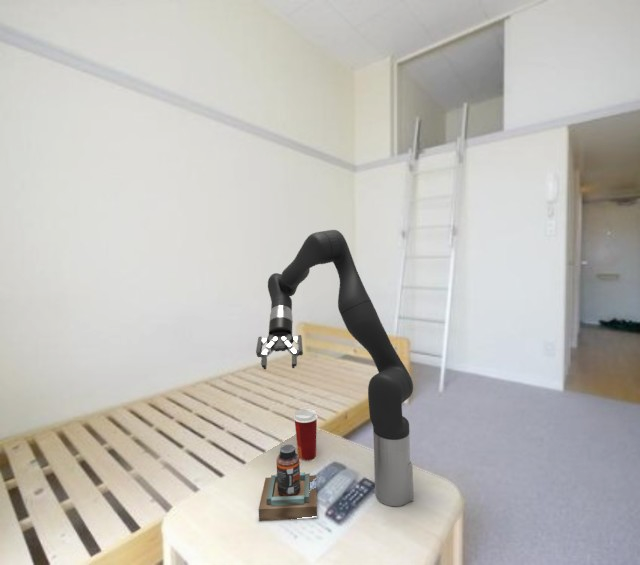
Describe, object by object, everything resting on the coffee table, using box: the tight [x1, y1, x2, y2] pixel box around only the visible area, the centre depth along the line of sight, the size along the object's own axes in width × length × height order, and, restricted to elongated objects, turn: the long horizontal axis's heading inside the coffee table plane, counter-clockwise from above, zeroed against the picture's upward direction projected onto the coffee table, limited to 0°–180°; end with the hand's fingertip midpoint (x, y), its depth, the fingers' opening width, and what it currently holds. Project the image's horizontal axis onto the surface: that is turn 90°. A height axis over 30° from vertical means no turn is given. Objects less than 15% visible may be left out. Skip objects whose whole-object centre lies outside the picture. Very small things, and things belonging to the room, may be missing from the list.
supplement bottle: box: [276, 444, 301, 496], centre depth 88 cm, size 6×6×11 cm
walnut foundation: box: [258, 471, 318, 522], centre depth 89 cm, size 14×12×4 cm
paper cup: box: [293, 408, 319, 461], centre depth 109 cm, size 8×8×14 cm
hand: (279, 367), depth 102 cm, fingers open, 8 cm apart
